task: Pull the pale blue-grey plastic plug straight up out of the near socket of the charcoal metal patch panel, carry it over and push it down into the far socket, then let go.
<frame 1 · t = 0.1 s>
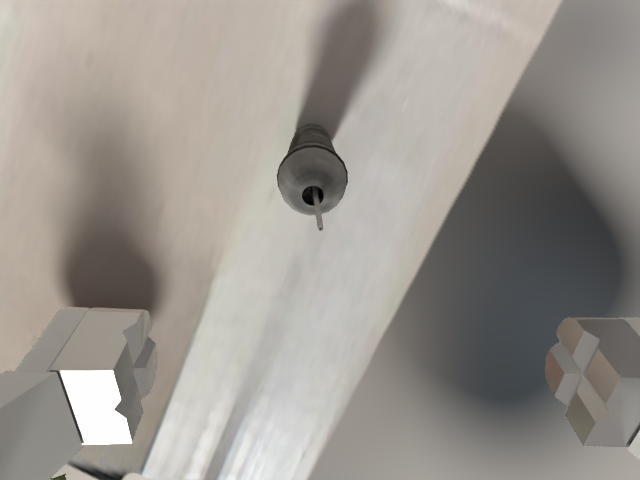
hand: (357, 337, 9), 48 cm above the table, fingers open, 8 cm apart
beverage cup: (311, 141, 57), on the table
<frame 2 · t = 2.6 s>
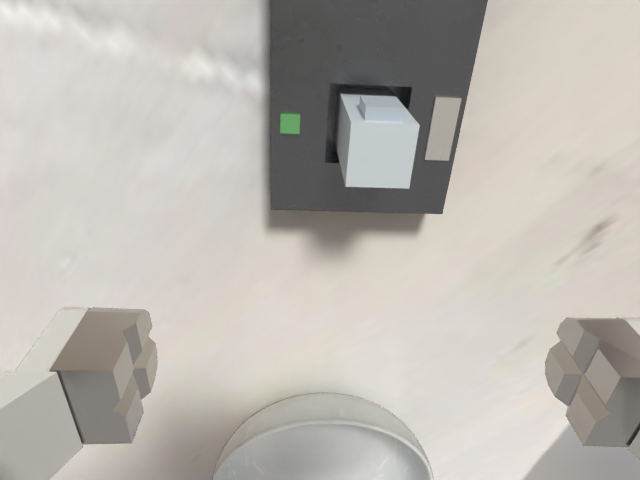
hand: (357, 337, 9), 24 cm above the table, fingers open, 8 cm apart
serving bowl: (319, 432, 49), on the table
plug: (361, 115, 31), resting on panel
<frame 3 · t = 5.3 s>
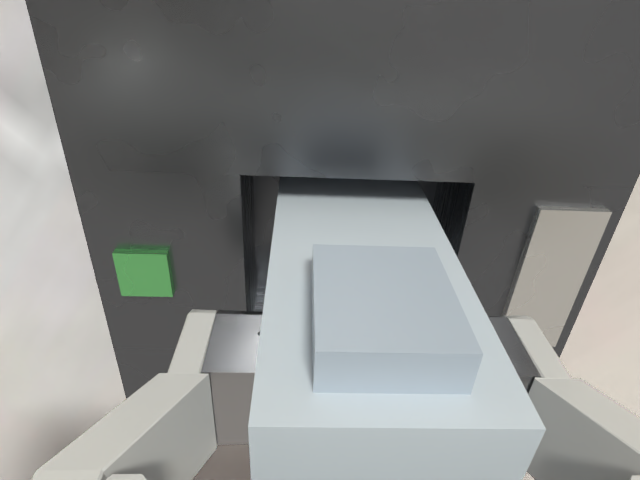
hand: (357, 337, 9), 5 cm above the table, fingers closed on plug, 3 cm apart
plug: (342, 224, 13), point 1 cm above the table, touching gripper, panel
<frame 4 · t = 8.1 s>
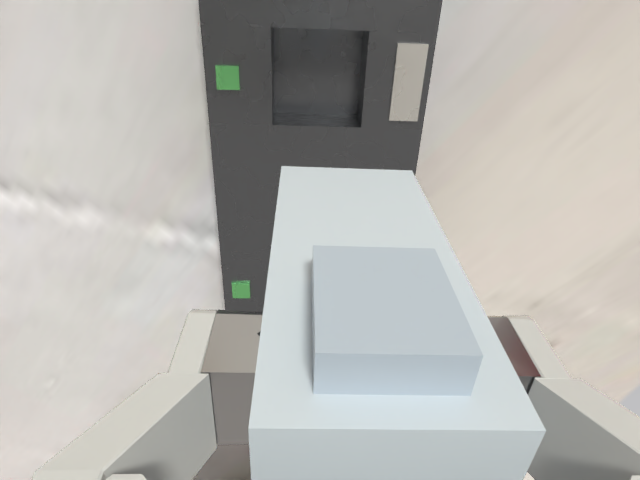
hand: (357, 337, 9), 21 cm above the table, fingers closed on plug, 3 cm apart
plug: (342, 225, 13), point 17 cm above the table, touching gripper
panel: (313, 179, 31), on the table
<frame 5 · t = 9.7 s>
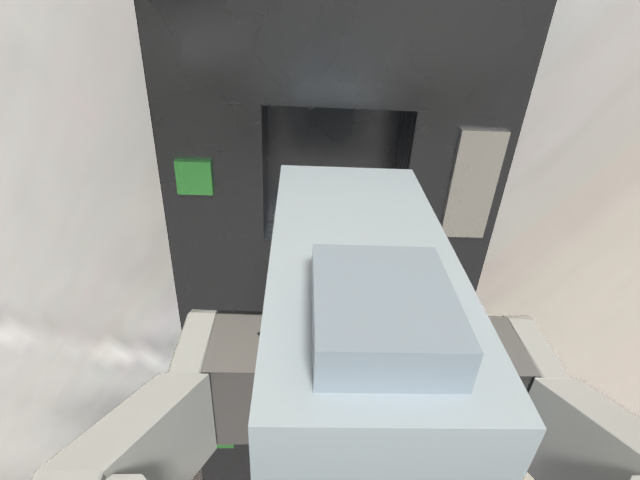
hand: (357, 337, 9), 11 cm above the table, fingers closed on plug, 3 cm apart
plug: (342, 224, 13), point 6 cm above the table, touching gripper
panel: (322, 290, 22), on the table
when the fingers open (6 cm above the table, at t = 10.9 s): plug stays where it is, resting on panel.
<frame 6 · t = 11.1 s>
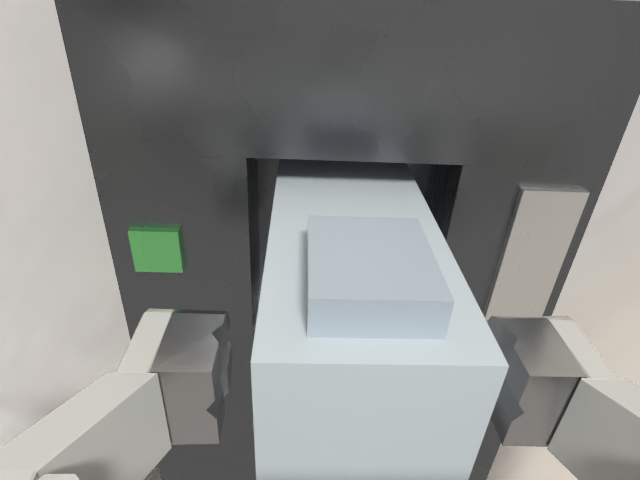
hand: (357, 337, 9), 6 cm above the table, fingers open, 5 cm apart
plug: (338, 208, 14), resting on panel
panel: (327, 361, 18), on the table
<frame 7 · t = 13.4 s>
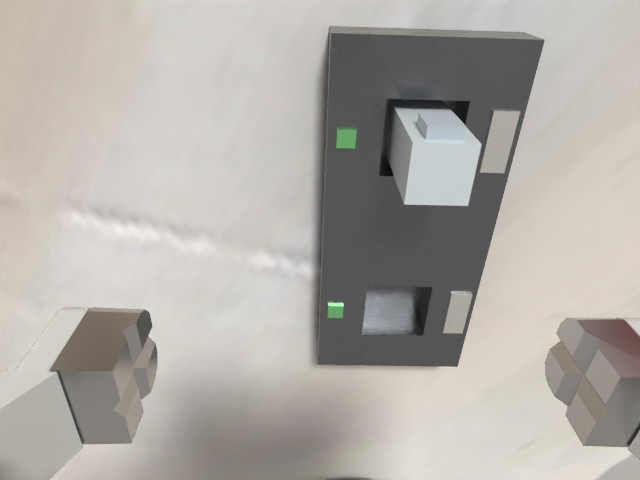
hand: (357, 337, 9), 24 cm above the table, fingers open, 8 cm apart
plug: (413, 127, 31), resting on panel
panel: (401, 215, 35), on the table
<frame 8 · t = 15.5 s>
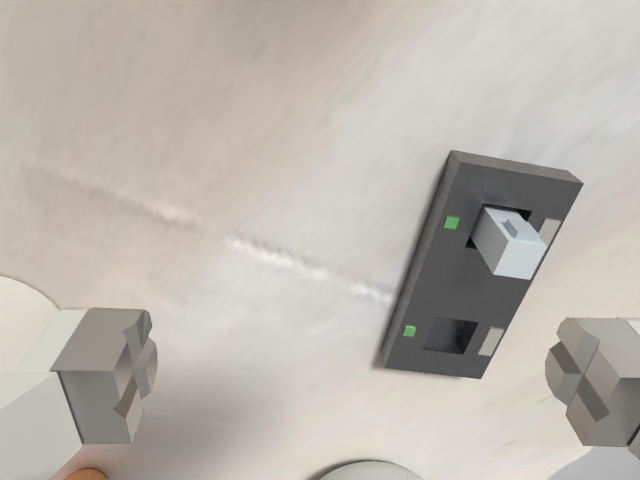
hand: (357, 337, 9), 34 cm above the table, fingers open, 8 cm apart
plug: (488, 217, 46), resting on panel
panel: (463, 270, 50), on the table
egg: (93, 471, 67), on the table
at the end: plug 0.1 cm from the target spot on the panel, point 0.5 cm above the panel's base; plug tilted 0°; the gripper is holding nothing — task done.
